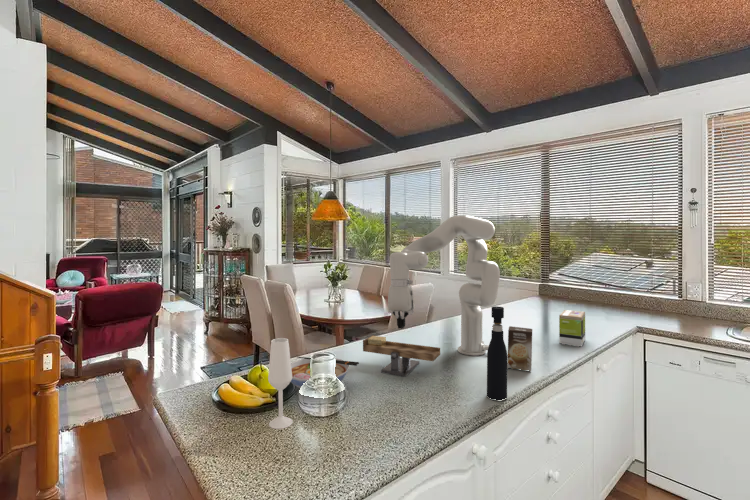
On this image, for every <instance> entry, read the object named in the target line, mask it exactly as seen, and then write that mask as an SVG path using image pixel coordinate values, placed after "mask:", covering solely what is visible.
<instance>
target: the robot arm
mask: <svg viewBox="0 0 750 500" xmlns="http://www.w3.org/2000/svg"><path fill="white" fill-rule="evenodd" d="M495 229H496V228H495V226H494V224H493V222H491V221H490V220H487V219H484V218H479V217H476V216H471V215H464V214H463V215H454V216H450V217H447V219H446V220H444V221H443V222H442V223H441V224H440V225H439V226H437V227H436V228H435V229H433V230H432V231H431V232H430V233H428V234H426V235H424V236H422V237H420V238H417V239H415V240H414V241H412V242H410V244H408V245H406V247H404V248H403V249H402V250H401V251H396V252H392V253H391V254H390V255H389V269H390V270H389V271H390V272H389V273H390V286H389V287H388V293H387V312H388V313H389V314H392V315H393V316H394V317H395V319H396V326H397V329H404V328H405V327H406V318H407V317H408V316H409V315H413V314H415V312H414V310H415V296H414V292H413V291H414V290H413V287H412V284H413V280H412V279H410V270H422V269H424V268H426V267H427V266H428V264H429V256H428V253H432V252H437V251H439V250H443V249H444V248H446V246H448V245H449V244H450V243H451V242H452V241H454V239H455V238H457V237H459V236H462V238H463V239H464V241H465V242H466V244H467V249H468V251H467V259H466V266H465V276H466V278H467V279H469V280H471V281H476V282H481V284H480V283H474V282H468V283H464V284H462V285H461V286H460V288H459V291H458V297H459V301H460V302H459V303H460V314H461V315H460V317H461V318H460V346H458V347H457V352H459V353H460V354H462V355H466V356H477V357H478V356H483V355H485V354H486V352H487V351H488V347H489V344H485V341H483V320H484V319H483V311H482V307H483V308H490V307H491V308H492V307H493V306H494V304H495V303H496V301H497V298H498V290H499V284H500V276H501V272H500V271H501V270H500V267H499V265H498V264H497V263H496V262H495V261H492V260H487V259H488V247H487V244H486V242H485V241H487V240H490V239H492V237H494V235H495V231H496V230H495Z"/></svg>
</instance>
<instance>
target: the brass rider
mask: <svg viewBox="0 0 750 500" xmlns="http://www.w3.org/2000/svg"><path fill="white" fill-rule="evenodd" d="M371 336H372V335H371ZM369 337H370V336H369ZM367 338H368V337H367ZM386 341H387V338H386V336H378V335H375V336H372V337H370V338H368V345H374V346H382V347H384V346H386Z"/></svg>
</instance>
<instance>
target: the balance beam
mask: <svg viewBox="0 0 750 500" xmlns="http://www.w3.org/2000/svg"><path fill="white" fill-rule="evenodd" d="M372 336H376V334H375V335H374V334H373V335H371V336H370V335H369V337H367V338H365V339H363V340H362V352H367V353H372V354H373V353H374V354H380V355H386V356H391V352H399V353H400V358H402V357H406V358H410V359H412V360H419V361H427V362H434V361H436V359H437V358H439V356H440V355H441V347H436V346H428V345H421V344H413V343H412V344H411V343H405V342H397V341H391V340H390V341H388V340H386V346H384V347H382V346H374V345H368V338H370V337H372Z"/></svg>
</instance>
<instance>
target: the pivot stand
mask: <svg viewBox="0 0 750 500" xmlns="http://www.w3.org/2000/svg"><path fill="white" fill-rule="evenodd" d="M419 365H420V360H417V359H411V358H406V357H400V353H399V352H391V355H390V362H389V363H388V364H387V365H386V366H384V367H382V369H381V370H380V373H382V374H386V375H392V376H398V377H403V378H405V377H407V376H408V375H409V374H410V373H411V372H412V371H413V370H415V368H417V367H418V366H419Z"/></svg>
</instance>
